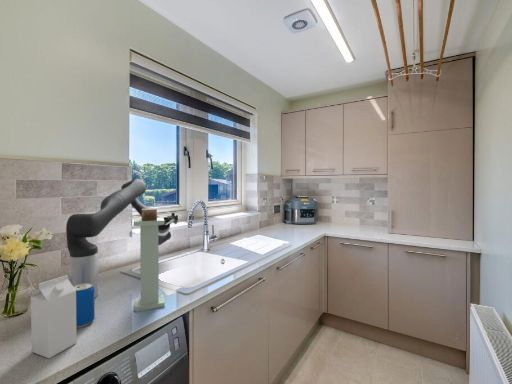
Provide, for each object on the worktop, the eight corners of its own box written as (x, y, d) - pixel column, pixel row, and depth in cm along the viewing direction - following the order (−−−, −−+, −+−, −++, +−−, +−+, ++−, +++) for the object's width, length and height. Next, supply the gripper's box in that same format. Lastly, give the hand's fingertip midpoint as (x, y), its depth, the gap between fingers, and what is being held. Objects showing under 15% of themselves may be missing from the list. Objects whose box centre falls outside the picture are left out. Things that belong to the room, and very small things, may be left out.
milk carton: (31, 352, 68) (30, 281, 67) (60, 337, 75) (59, 273, 74) (48, 359, 65) (47, 285, 65) (76, 343, 72) (76, 276, 72)
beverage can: (90, 315, 87) (90, 281, 87) (97, 322, 83) (97, 285, 83) (67, 323, 82) (67, 286, 82) (74, 331, 78) (73, 292, 78)
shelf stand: (164, 308, 93) (164, 220, 92) (134, 313, 89) (133, 221, 88) (163, 297, 101) (163, 217, 101) (135, 302, 98) (135, 218, 97)
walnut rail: (156, 220, 92) (156, 209, 92) (141, 221, 90) (141, 209, 90) (156, 215, 107) (156, 206, 107) (143, 216, 105) (142, 206, 105)
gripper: (147, 220, 134) (147, 207, 120) (176, 219, 139) (178, 206, 126) (147, 234, 130) (147, 222, 117) (176, 232, 136) (179, 220, 122)
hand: (163, 214), depth 121 cm, fingers open, 8 cm apart
